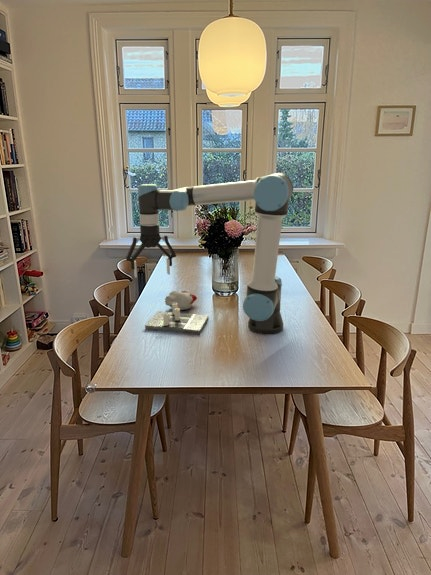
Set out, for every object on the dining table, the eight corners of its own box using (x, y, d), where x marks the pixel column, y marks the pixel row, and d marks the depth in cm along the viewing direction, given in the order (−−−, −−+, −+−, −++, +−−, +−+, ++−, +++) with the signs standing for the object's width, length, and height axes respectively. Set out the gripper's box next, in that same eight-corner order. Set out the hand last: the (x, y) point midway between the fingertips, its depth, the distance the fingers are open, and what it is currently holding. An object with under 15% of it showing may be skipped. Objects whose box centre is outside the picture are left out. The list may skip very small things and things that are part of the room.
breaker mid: (180, 318, 176) (180, 307, 174) (178, 320, 173) (178, 309, 172) (176, 318, 176) (176, 307, 174) (174, 320, 174) (174, 309, 172)
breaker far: (177, 312, 182) (177, 302, 180) (176, 314, 179) (175, 304, 178) (174, 312, 182) (173, 302, 180) (172, 314, 180) (172, 304, 178)
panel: (208, 319, 180) (208, 315, 180) (199, 334, 166) (199, 330, 165) (158, 315, 185) (157, 310, 184) (145, 329, 170) (145, 324, 170)
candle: (163, 309, 191) (185, 303, 202) (180, 314, 184) (201, 309, 196) (164, 290, 189) (186, 286, 200) (181, 295, 182) (203, 291, 194)
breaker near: (169, 323, 171) (169, 312, 169) (167, 325, 168) (167, 314, 167) (165, 322, 171) (165, 312, 169) (163, 325, 169) (163, 314, 167)
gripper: (178, 221, 166) (179, 270, 173) (116, 224, 159) (120, 275, 166) (182, 224, 159) (183, 274, 166) (118, 227, 152) (122, 280, 159)
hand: (152, 275), depth 166 cm, fingers open, 13 cm apart
